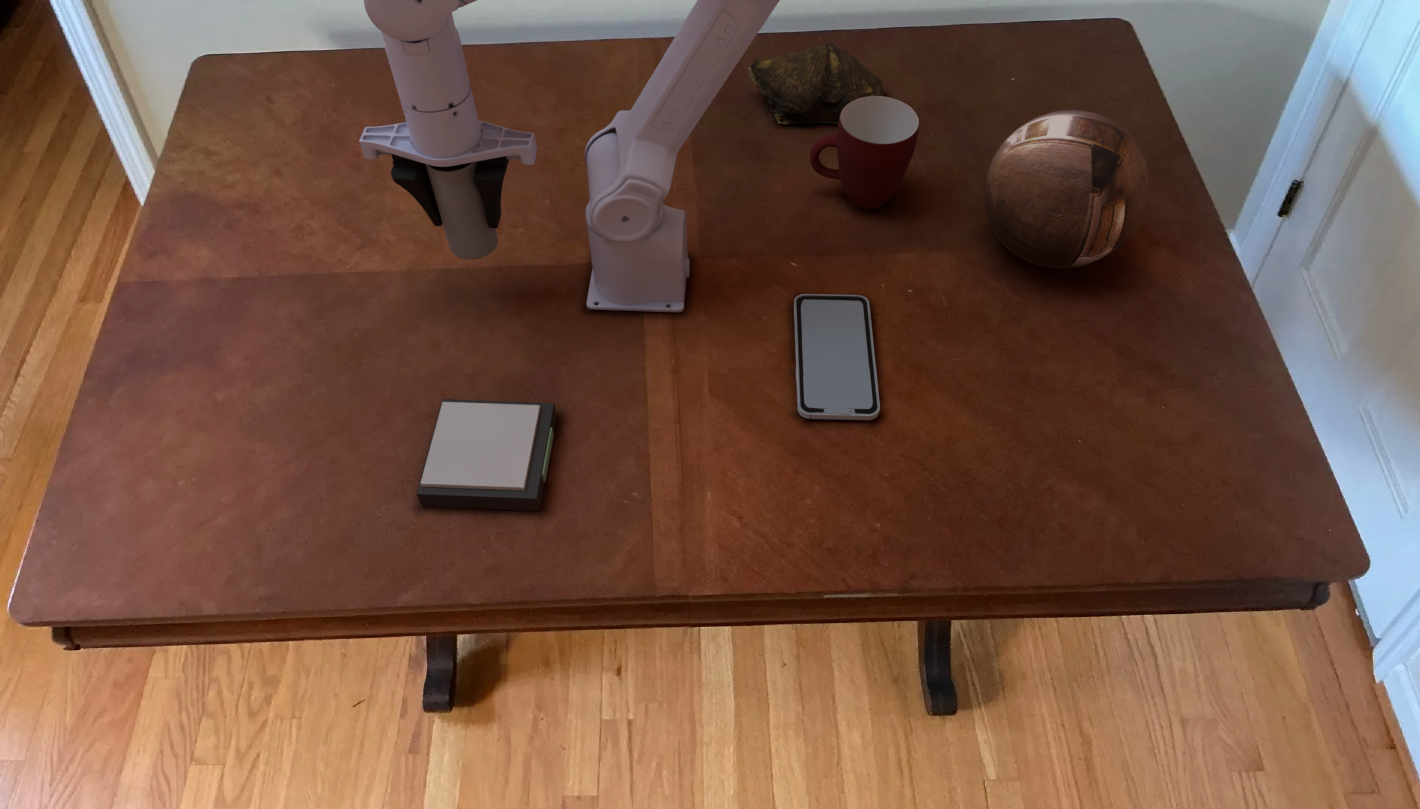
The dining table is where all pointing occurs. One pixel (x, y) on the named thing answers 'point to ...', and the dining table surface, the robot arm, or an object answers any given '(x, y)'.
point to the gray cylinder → (462, 211)
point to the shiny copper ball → (1066, 189)
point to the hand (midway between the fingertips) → (468, 220)
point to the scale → (488, 455)
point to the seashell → (812, 83)
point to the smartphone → (835, 358)
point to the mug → (870, 148)
